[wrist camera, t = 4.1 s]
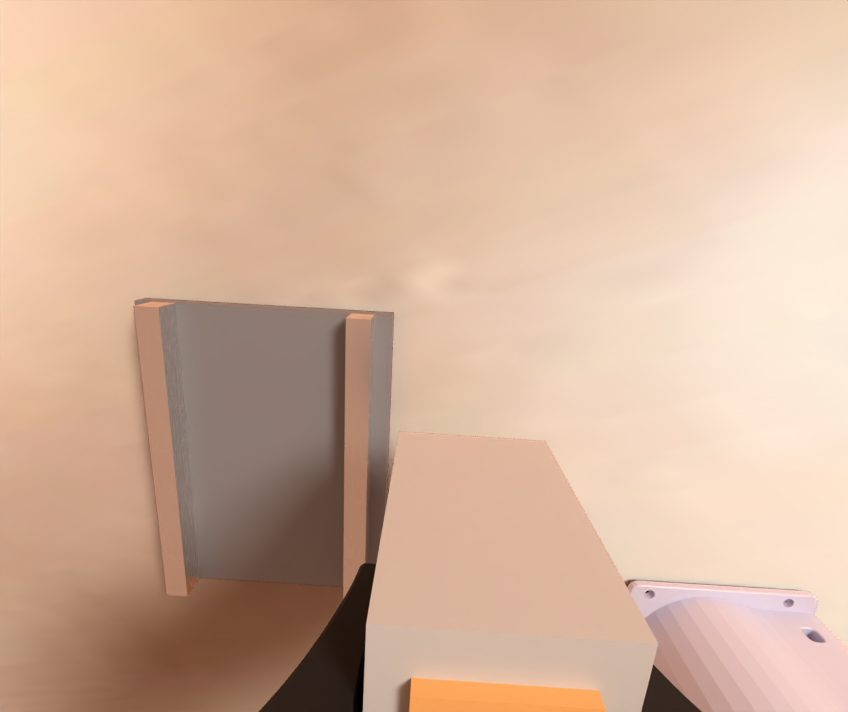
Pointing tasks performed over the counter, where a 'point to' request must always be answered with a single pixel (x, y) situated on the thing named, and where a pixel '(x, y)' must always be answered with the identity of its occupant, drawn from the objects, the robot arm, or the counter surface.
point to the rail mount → (266, 439)
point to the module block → (496, 589)
